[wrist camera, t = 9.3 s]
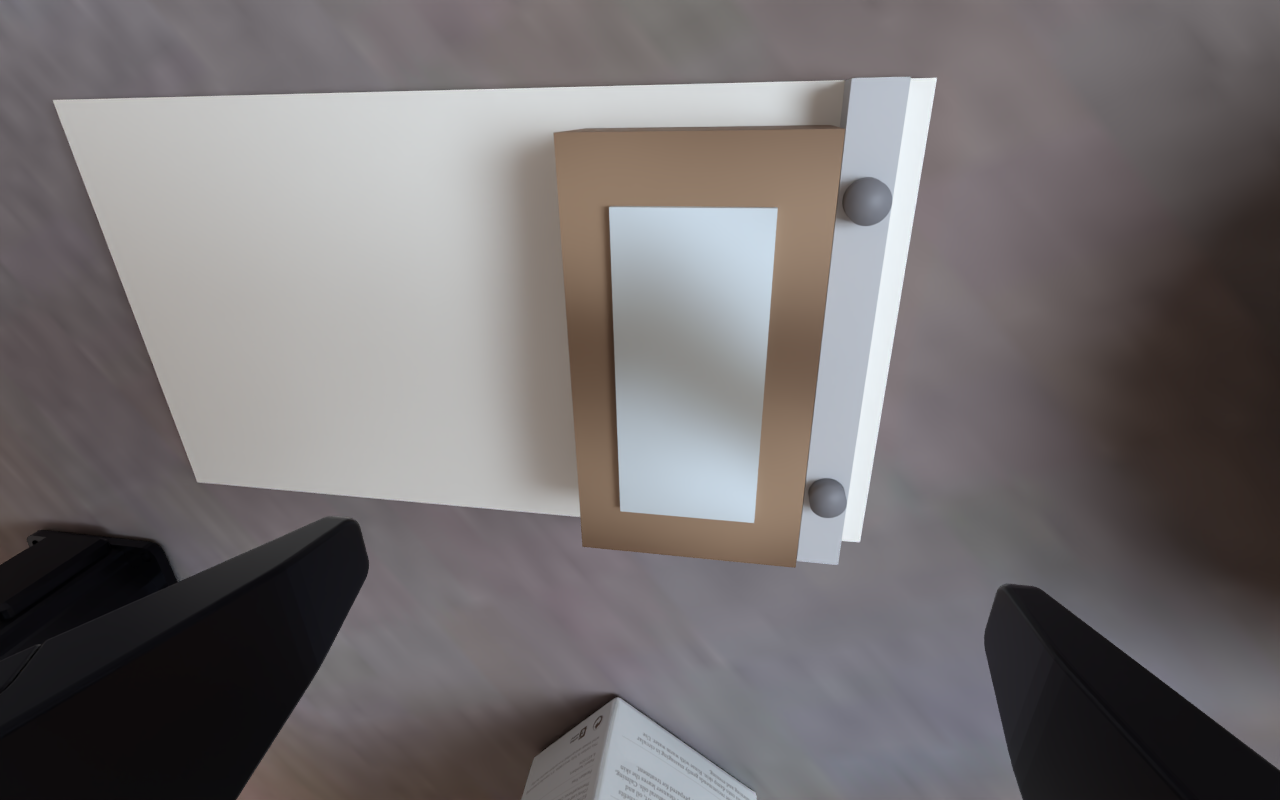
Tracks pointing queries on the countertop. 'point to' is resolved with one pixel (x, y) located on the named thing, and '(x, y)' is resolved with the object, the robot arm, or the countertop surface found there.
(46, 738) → the robot arm
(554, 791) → the skincare box
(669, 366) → the frame
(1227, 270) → the countertop surface
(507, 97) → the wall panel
